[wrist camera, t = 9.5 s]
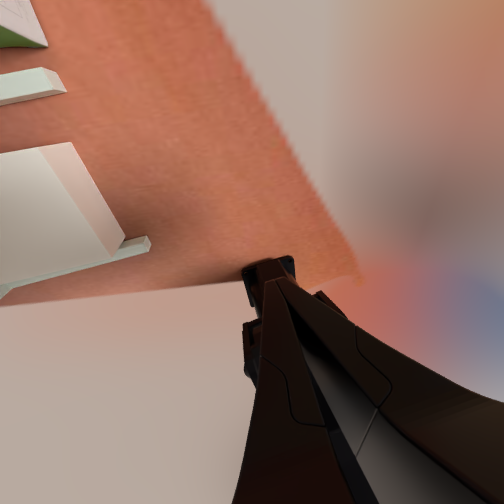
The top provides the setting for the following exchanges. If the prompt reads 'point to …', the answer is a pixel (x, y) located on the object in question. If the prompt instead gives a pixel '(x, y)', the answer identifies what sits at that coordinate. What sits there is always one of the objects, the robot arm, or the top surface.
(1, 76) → the frame
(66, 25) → the top surface
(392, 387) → the robot arm
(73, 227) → the carton
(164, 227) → the top surface
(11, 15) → the ink box
